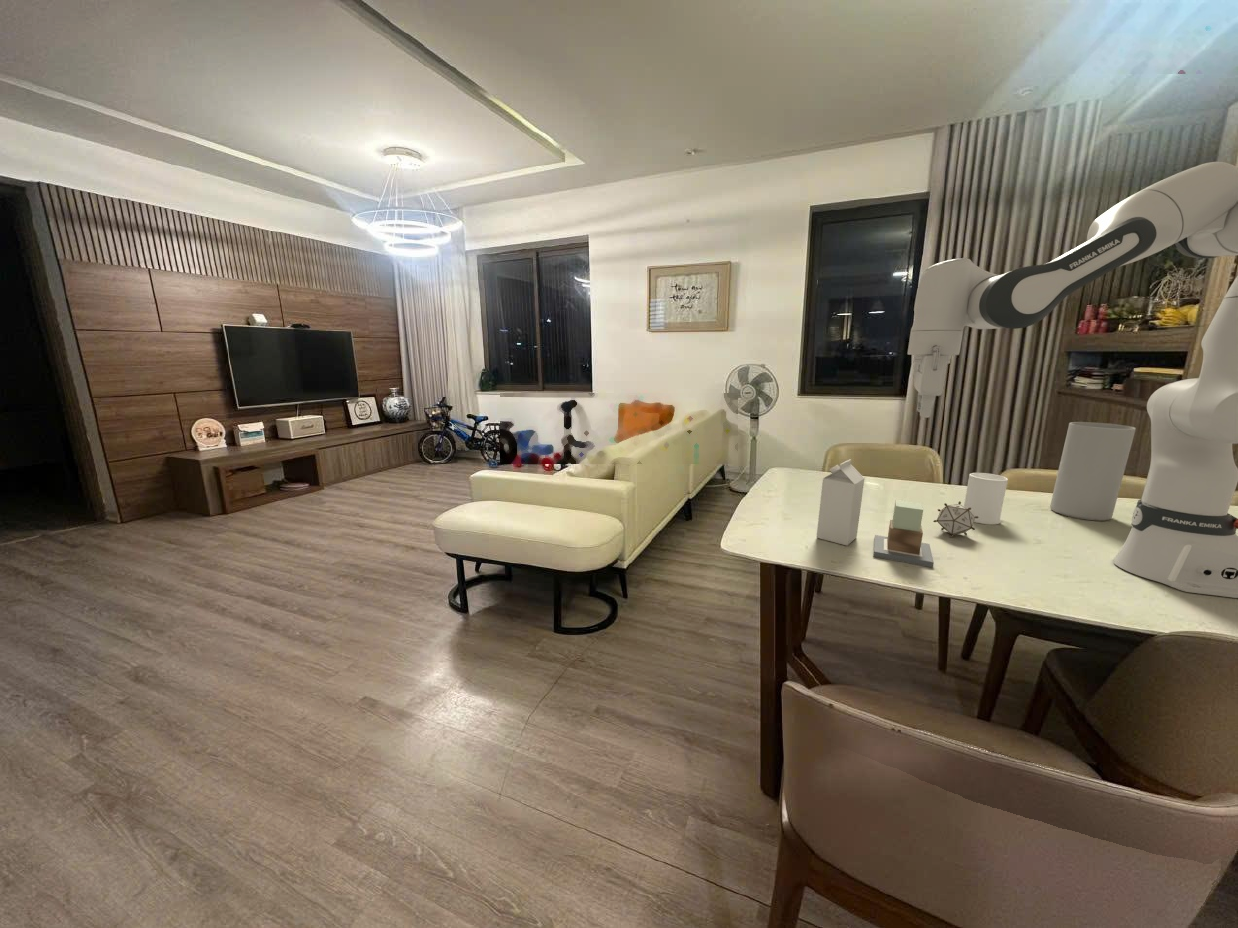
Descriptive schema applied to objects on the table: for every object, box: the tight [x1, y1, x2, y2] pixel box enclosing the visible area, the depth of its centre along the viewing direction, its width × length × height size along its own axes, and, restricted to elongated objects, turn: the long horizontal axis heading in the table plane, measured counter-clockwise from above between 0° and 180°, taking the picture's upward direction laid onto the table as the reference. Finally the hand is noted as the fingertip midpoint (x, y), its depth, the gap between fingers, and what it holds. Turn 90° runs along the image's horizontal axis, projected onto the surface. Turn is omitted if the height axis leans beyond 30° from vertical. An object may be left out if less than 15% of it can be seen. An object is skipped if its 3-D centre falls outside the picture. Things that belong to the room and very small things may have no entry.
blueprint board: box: [872, 534, 935, 568], centre depth 104 cm, size 11×11×1 cm
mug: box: [963, 472, 1009, 526], centre depth 125 cm, size 12×8×12 cm
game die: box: [932, 500, 978, 538], centre depth 114 cm, size 9×8×10 cm
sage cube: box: [892, 499, 924, 532], centre depth 102 cm, size 5×5×5 cm
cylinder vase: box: [1049, 421, 1136, 522], centre depth 127 cm, size 12×12×25 cm
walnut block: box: [887, 519, 924, 555], centre depth 104 cm, size 6×6×5 cm
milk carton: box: [816, 459, 865, 546], centre depth 110 cm, size 7×7×19 cm
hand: (923, 414), depth 97 cm, fingers open, 8 cm apart
